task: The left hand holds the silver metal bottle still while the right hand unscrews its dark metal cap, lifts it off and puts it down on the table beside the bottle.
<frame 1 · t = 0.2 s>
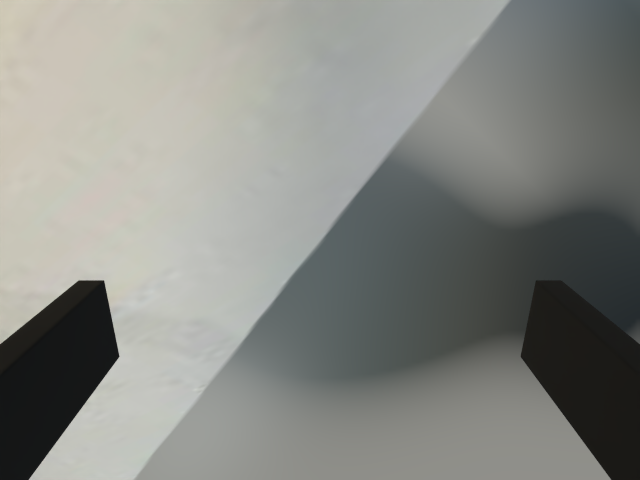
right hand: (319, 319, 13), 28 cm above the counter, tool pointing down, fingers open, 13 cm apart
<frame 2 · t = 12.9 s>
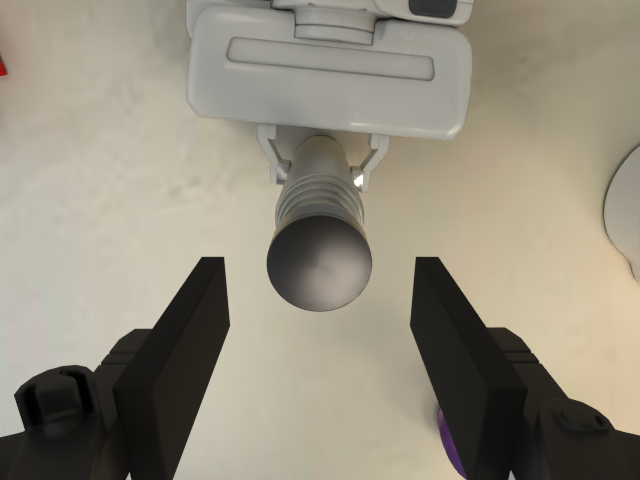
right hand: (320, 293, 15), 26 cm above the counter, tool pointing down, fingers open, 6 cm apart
left hand: (319, 187, 33), fingers closed on bottle, 5 cm apart
bottle: (319, 162, 39), on the counter, touching left hand
figurine: (469, 407, 49), on the counter
cap: (319, 262, 17), point 24 cm above the counter, screwed on, not yet turned
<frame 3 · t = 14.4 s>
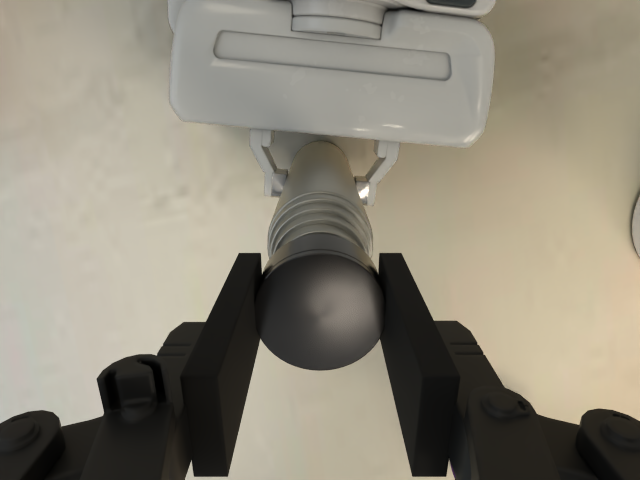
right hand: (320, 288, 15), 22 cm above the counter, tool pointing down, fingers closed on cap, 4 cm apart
left hand: (319, 199, 30), fingers closed on bottle, 5 cm apart
bottle: (320, 170, 35), on the counter, touching left hand
cap: (320, 310, 13), point 24 cm above the counter, screwed on, not yet turned, touching right hand
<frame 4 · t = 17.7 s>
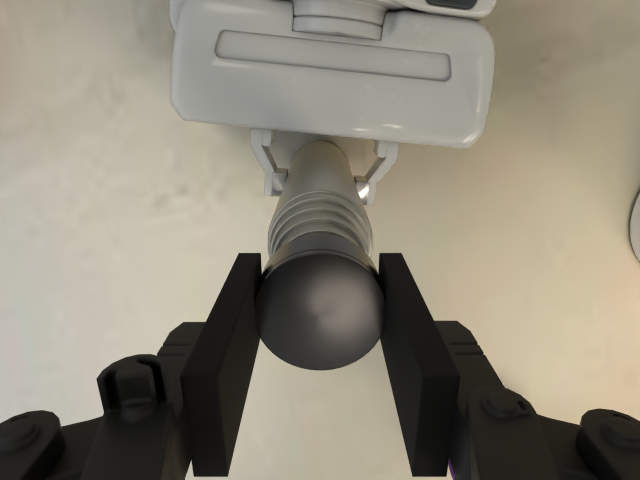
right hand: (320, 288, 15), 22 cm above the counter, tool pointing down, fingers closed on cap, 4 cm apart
left hand: (319, 199, 30), fingers closed on bottle, 5 cm apart
bottle: (320, 169, 36), on the counter, touching left hand
cap: (320, 310, 13), point 24 cm above the counter, turned 111° so far, risen 0.1 cm, still on its thread, touching right hand
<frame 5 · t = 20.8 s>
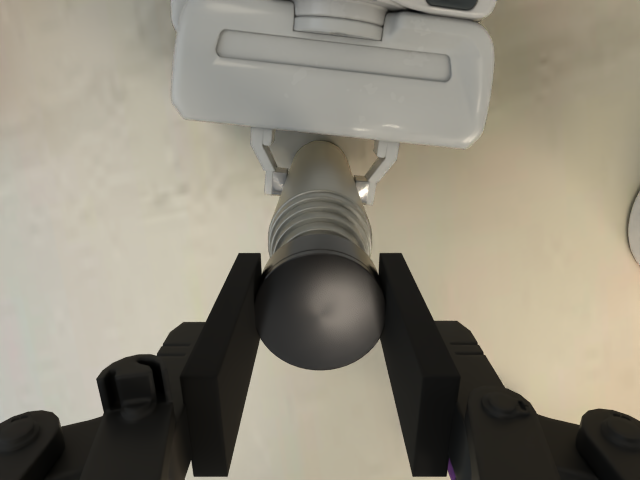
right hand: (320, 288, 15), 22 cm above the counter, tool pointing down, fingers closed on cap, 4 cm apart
left hand: (319, 198, 30), fingers closed on bottle, 5 cm apart
bottle: (320, 169, 36), on the counter, touching left hand
cap: (320, 310, 13), point 24 cm above the counter, turned 221° so far, risen 0.2 cm, still on its thread, touching right hand
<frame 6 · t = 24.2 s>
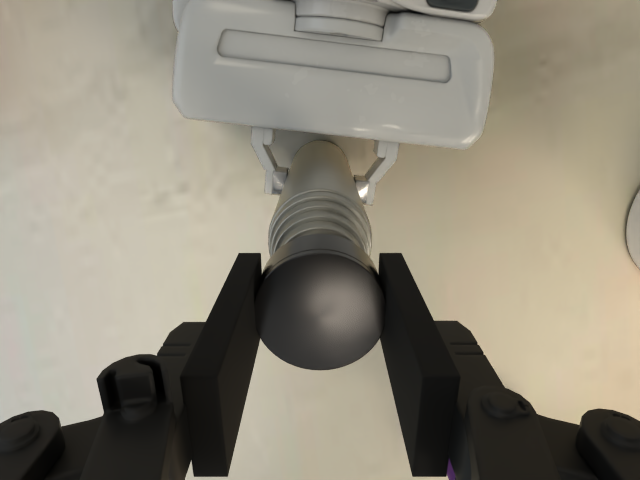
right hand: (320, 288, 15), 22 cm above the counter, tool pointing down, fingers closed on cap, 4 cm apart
left hand: (319, 198, 30), fingers closed on bottle, 5 cm apart
bottle: (320, 169, 36), on the counter, touching left hand
cap: (320, 310, 13), point 24 cm above the counter, turned 332° so far, risen 0.4 cm, still on its thread, touching right hand
when the right hand's fingers open (1 cm above the counter, at t = 32.1 s): cap stays where it is, point 1 cm above the counter.
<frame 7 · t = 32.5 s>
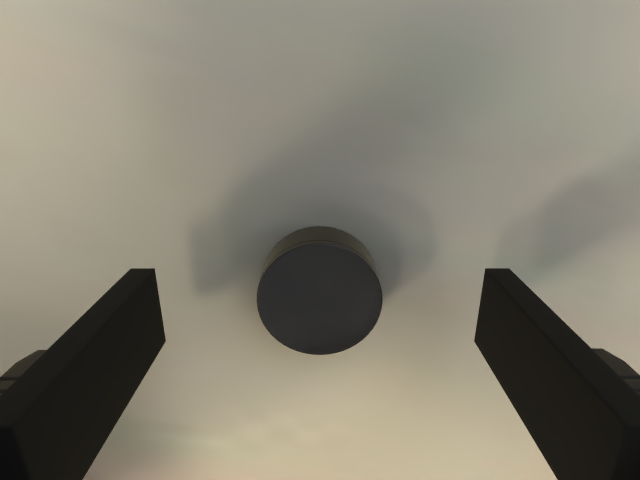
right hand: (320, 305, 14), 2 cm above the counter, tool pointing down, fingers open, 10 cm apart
cap: (319, 298, 14), point 1 cm above the counter, off its thread
when the left hand's fingers open (6 cm above the counter, at t = 33.4 s): bottle stays where it is, on the counter.
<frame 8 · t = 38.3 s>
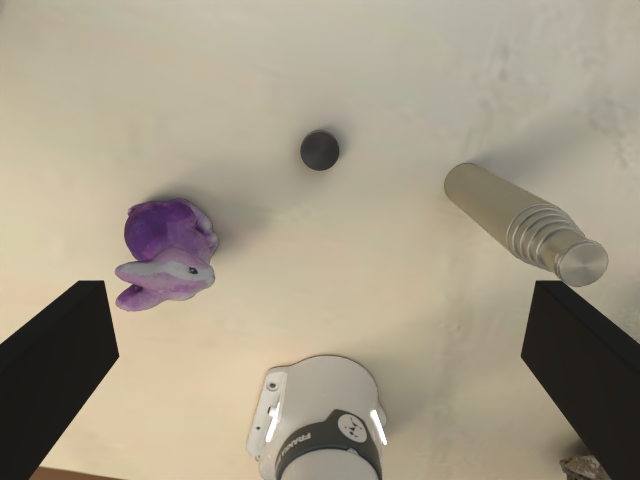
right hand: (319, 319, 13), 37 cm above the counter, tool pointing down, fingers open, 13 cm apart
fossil: (619, 451, 63), on the counter
bottle: (465, 183, 49), on the counter
figurine: (185, 229, 51), on the counter
cap: (319, 151, 46), point 1 cm above the counter, off its thread
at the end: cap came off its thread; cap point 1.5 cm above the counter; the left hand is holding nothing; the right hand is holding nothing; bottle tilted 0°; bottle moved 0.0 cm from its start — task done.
